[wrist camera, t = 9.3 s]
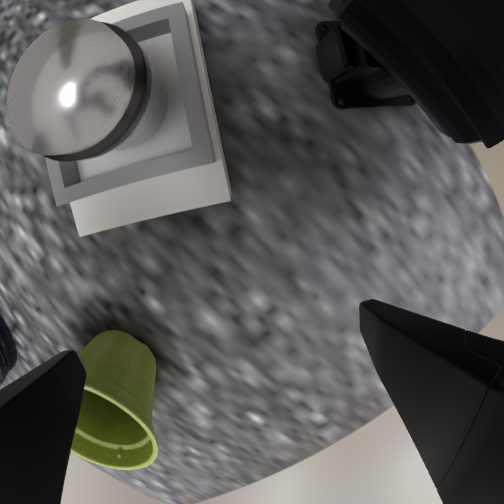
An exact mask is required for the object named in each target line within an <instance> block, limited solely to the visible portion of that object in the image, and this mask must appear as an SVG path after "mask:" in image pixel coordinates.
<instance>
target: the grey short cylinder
mask: <svg viewBox="0 0 504 504" xmlns="http://www.w3.org/2000/svg"><path fill="white" fill-rule="evenodd" d="M167 109H168V91H167V87H166V85H165V82H164V81H163V79H162V77H161V76H160V75H159V74H158V73H157V72H156V71H155V70H154V69H153V68H152V67H151V66H150V64H149V61H148V58H147V56H146V54H145V52H144V51H143V49H142V48H141V47H140V45H139V44H138V43H137V42H136V41H135V40H134V39H133V38H132V37H131V36H130V35H129V34H128V33H127V32H126V31H124V30H123V29H121V28H120V27H118V26H116V25H113V24H110V23H105V22H99V21H96V20H93V19H87V18H78V19H72V20H68V21H64V22H61V23H59V24H57V25H55V26H53V27H51V28H50V29H48V30H47V31H45V32H44V33H43V34H41V35H40V36H39V37H38V38H37V39H36V40H35V41H34V42H33V43H32V44H31V45H30V46H29V47H28V48H27V50H26V51H25V52H24V54H23V55H22V57H21V58H20V60H19V62H18V64H17V66H16V68H15V70H14V72H13V75H12V77H11V80H10V84H9V88H8V94H7V115H8V121H9V124H10V127H11V130H12V132H13V134H14V135H15V137H16V139H17V140H18V141H19V142H20V144H21V145H23V146H24V147H25V148H26V149H28V150H30V151H31V152H34V153H37V154H40V155H43V156H45V157H46V158H49V159H52V160H55V161H60V162H71V161H78V160H86V159H92V158H96V157H99V156H101V155H104V154H106V153H108V152H110V151H120V150H128V149H132V148H135V147H138V146H140V145H142V144H143V143H145V142H146V141H148V140H149V139H150V138H151V137H152V136H153V135H154V134H155V133H156V132H157V131H158V129H159V128H160V126H161V125H162V123H163V121H164V118H165V116H166V113H167Z"/></svg>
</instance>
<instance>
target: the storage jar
mask: <svg viewBox="0 0 504 504" xmlns="http://www.w3.org/2000/svg"><path fill="white" fill-rule="evenodd" d="M16 361H17V349H16V345H15V342H14V339H13V336H12V334H11V332H10V330H9V328H8V326H7V324H6V323H5V321H4V319H3V318H2V317H1V315H0V385H1V384H2V382H3V381H4V379H5V377H6V375H7V374H8V372H9V371H10V370H11V369H12V368H13V367H14V365H15V363H16Z"/></svg>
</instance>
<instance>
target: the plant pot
mask: <svg viewBox="0 0 504 504" xmlns="http://www.w3.org/2000/svg"><path fill="white" fill-rule="evenodd" d="M77 355H78V357H79V359H80V361H81V362H82V364H83V366H84V368H85V370H86V382H85V387H84V392H83V398H82V404H81V410H80V415H79V419H78V423H77V426H76V430H75V434H74V439H73V443H72V447H71V452H73V453H74V454H76V455H77V456H80V457H81V458H83V459H85V460H88V461H90V462H92V463H95V464H98V465H101V466H105V467H108V468H112V469H120V470H134V469H139V468H143V467H146V466H148V465H150V464H151V463H152V462H153V461H154V460H155V459H156V457H157V455H158V441H157V438H156V436H155V434H154V426H153V422H152V408H153V396H154V386H155V377H156V361H155V358H154V356H153V354H152V352H151V350H150V349H149V348H148V347H147V346H146V345H145V344H144V343H141V342H139V341H138V340H136V339H135V338H134V337H133V336H131V335H130V334H129V333H126V332H123V331H117V330H109V331H104V332H101V333H99V334H98V335H97V336H95V337H94V338H93V339H92V340H91V341H90V342H89V343H88V344H87V345H86V346H85V348H84V349H83V350H82V351H80V352H79V353H78V354H77Z"/></svg>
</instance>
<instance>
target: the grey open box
mask: <svg viewBox="0 0 504 504" xmlns="http://www.w3.org/2000/svg"><path fill="white" fill-rule="evenodd" d="M91 19H93V20H96V21H99V22H105V23H110V24H113V25H116V26H118V27H120V28H121V29H123V30H124V31H126V32H127V33H128V34H129V35H130V36H131V37H132V38H133V39H134V40H135V41H136V42H137V43H138V44H139V45H140V47H141V48H142V49H143V51H144V52H145V54H146V56H147V58H148V61H149V64H150V66H151V67H152V68H153V69H154V70H155V71H156V72H157V73H158V74H159V75H160V76H161V77H162V79H163V81H164V82H165V85H166V87H167V91H168V109H167V113H166V116H165V118H164V121H163V123H162V125H161V126H160V128H159V129H158V131H157V132H156V133H155V134H154V135H153V136H152V137H151V138H150V139H149V140H148V141H146V142H145V143H143V144H142V145H140V146H138V147H135V148H132V149H128V150H120V151H110V152H108V153H106V154H104V155H101V156H99V157H96V158H92V159H86V160H78V161H71V162H60V161H55V160H52V159H49V158H46V157H45V158H46V163H47V168H48V172H49V177H50V182H51V186H52V190H53V194H54V198H55V202H56V206H57V207H58V206H61V205H64V204H66V203H69V202H70V205H71V208H72V212H73V216H74V219H75V223H76V226H77V230H78V233H79V236H80V237H82V236H85V235H89V234H93V233H97V232H100V231H104V230H108V229H112V228H116V227H120V226H124V225H128V224H132V223H136V222H140V221H144V220H148V219H152V218H156V217H160V216H165V215H169V214H173V213H178V212H182V211H187V210H191V209H196V208H200V207H205V206H209V205H214V204H219V203H224V202H229V201H231V187H230V182H229V177H228V173H227V168H226V163H225V158H224V153H223V148H222V143H221V138H220V133H219V128H218V123H217V118H216V113H215V108H214V103H213V98H212V93H211V88H210V83H209V78H208V73H207V68H206V63H205V58H204V53H203V48H202V43H201V37H200V32H199V27H198V22H197V17H196V12H195V9H194V5H193V2H192V0H138V1H135V2H132V3H129V4H126V5H124V6H121V7H118V8H115V9H113V10H110V11H108V12H105V13H103V14H100V15H98V16H95V17H93V18H91Z"/></svg>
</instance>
